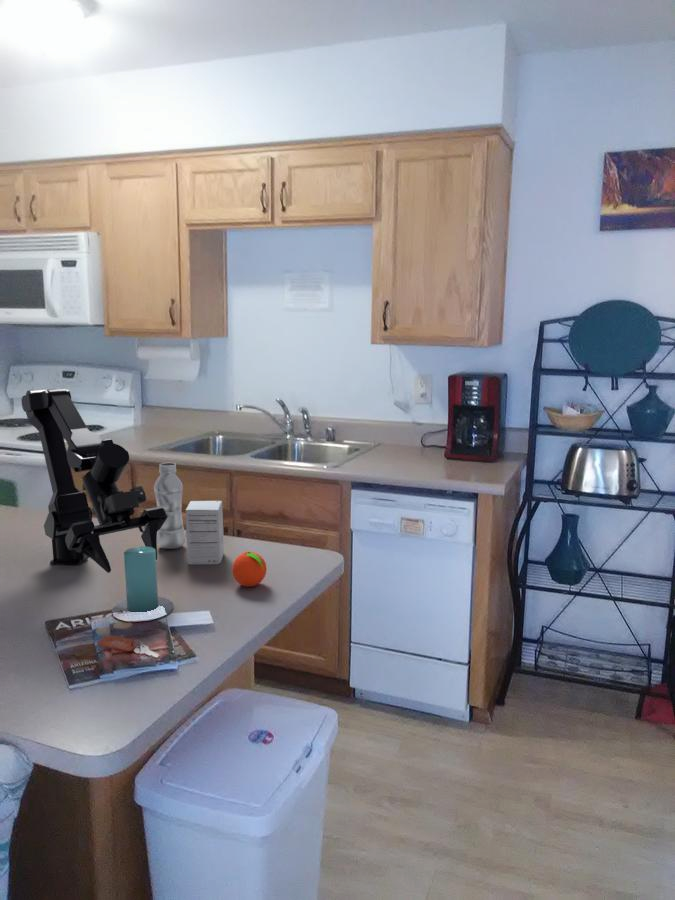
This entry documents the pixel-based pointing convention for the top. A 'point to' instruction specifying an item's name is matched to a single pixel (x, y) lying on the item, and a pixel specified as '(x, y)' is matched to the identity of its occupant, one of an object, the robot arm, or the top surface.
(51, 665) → the top surface
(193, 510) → the supplement box
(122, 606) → the coaster
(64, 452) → the robot arm
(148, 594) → the cylinder
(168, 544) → the plastic bottle
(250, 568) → the clementine
